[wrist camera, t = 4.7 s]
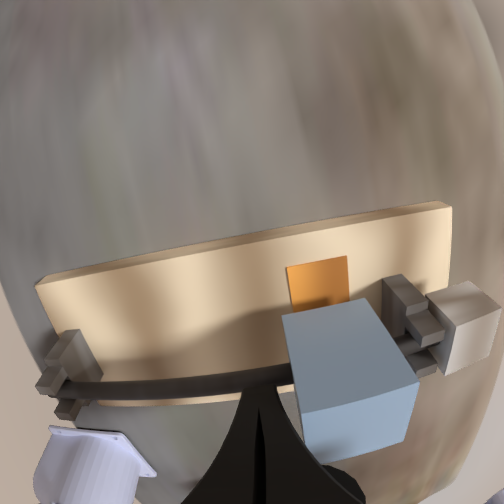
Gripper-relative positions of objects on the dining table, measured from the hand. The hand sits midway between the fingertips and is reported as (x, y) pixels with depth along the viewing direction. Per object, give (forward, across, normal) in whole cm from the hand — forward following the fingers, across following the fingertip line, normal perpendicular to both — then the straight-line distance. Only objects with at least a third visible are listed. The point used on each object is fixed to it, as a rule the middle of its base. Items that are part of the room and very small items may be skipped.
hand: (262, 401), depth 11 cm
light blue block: (+3, -3, 0) cm, 5 cm away
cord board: (+6, 0, 0) cm, 6 cm away
